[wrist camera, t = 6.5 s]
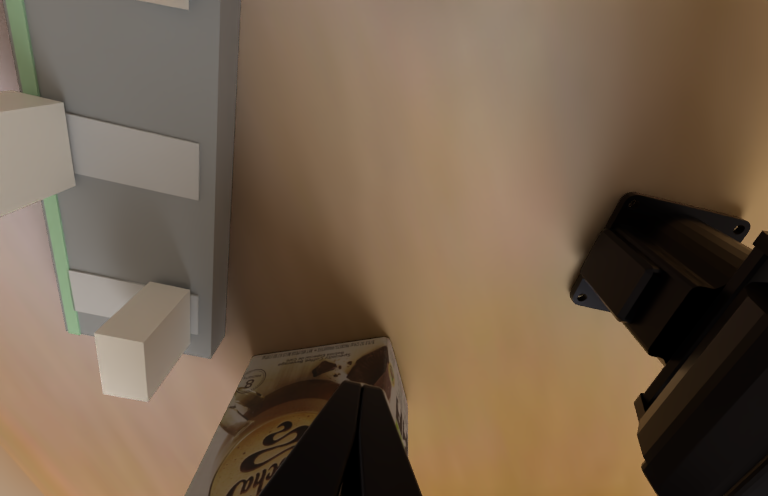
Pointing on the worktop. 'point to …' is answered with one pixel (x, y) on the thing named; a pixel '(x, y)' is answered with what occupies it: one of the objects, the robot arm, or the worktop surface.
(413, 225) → the worktop surface
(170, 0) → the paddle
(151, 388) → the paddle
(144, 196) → the breaker panel
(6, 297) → the worktop surface
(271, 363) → the coffee box
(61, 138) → the block
